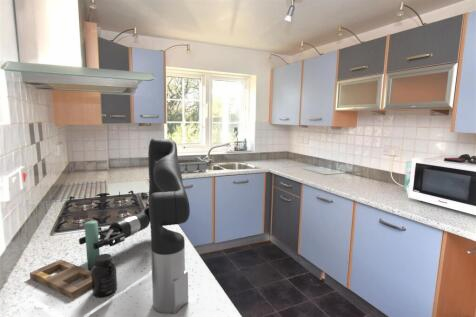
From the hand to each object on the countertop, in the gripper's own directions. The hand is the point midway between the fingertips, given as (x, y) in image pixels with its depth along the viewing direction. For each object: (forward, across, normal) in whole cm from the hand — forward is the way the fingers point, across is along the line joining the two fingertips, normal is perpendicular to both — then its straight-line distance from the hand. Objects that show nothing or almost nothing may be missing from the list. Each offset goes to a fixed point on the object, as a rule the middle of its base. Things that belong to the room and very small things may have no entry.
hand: (86, 244), depth 97 cm
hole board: (+8, 0, +10) cm, 13 cm away
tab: (-2, 0, +10) cm, 10 cm away
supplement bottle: (+6, +16, +10) cm, 20 cm away
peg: (-2, 0, +9) cm, 9 cm away
